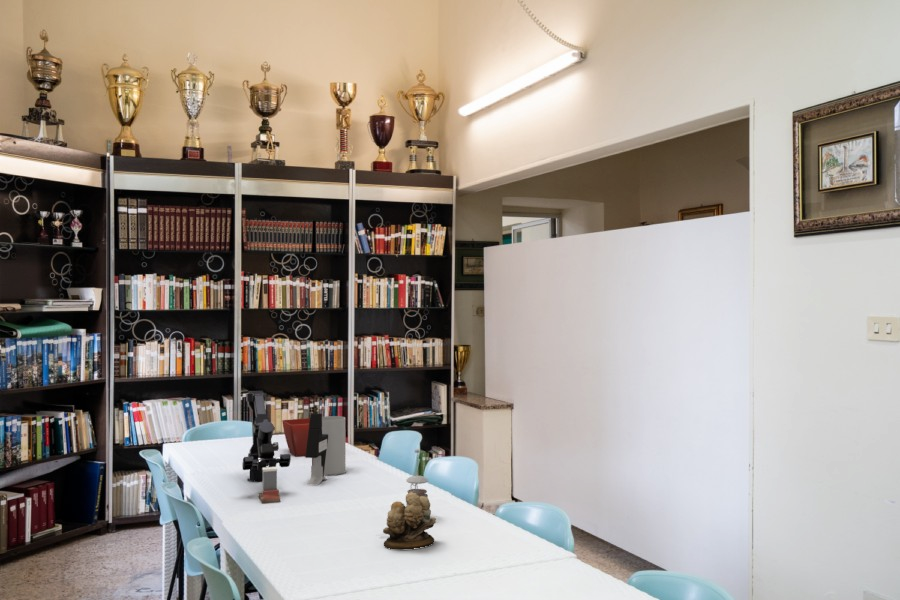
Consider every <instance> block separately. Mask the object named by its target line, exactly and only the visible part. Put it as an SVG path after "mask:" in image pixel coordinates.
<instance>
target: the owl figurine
mask: <svg viewBox="0 0 900 600" xmlns="http://www.w3.org/2000/svg"><path fill="white" fill-rule="evenodd" d="M405 503H406V504H407V505H405V504H404V503H403V502H401V501H398V500H397V501H393V503H392V504H391V505H390V510H389V511H388V512H387V518H386V526H387V527H384V528H383V529H382V533H384V534H385V535H389V537H387V538H386V539H385V540H384V542H383V546H385V547H384V548H386V547H387V548H386V549H388V548H390V549H389V550H391V549H412V550H415V549H414V548H419V549H421V548H420V547H424V548H426V547H425V546H428V547H430V546H432V545H434V543H435V538H434V537H433V536H432V535H431V534H429V533H428V532H427V531H426V530H428V529H429V530H430V529H432V528H433V527H434V525H435V524H436V522H437V521H436V518H435V517H431V514H432V510H431V509H430V508H431V502H430V500H429V497H428V498H427V497H424V496H421V497H419V496H418V495H417V494H416V493H412V492H410V493H408V492H407V493H406V495H405ZM431 544H432V545H431ZM429 545H430V546H429Z"/></svg>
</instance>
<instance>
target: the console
mask: <svg viewBox="0 0 900 600" xmlns="http://www.w3.org/2000/svg"><path fill="white" fill-rule="evenodd" d="M258 498H259V501H260V503H261V504H271V503H273V504H274V503H281V496H280V490H279V489H277V490H269V491H263V490H262V492H258Z"/></svg>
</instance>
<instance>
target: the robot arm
mask: <svg viewBox="0 0 900 600" xmlns="http://www.w3.org/2000/svg"><path fill="white" fill-rule="evenodd" d="M266 401H267V392H264V391H263V390H249V391H248V393H246V394H245V402H247V407H248V408H249V410H250V411H251V426H252V428H251V431H252V432H251V433H252V445H251V447H250V449H249V453H248V455H247V456H244V457H243V458H242V470H244V471H248V470H249V478H247V481H250V482H256V483H258V482H263V470H262V468H264V467H276V468H277V464H279V467H281V468H289V467H290V465H291V460H292V459H291V455H290V453H283V454H280V455H279V457H275V452H278V451H279V450H280V449H279V448H280V446H279V442H277V441H276V442H273V443H272V438H273V434H274V431H275V429H276V427H275V425H274V424H273V423H272V422H271V418H270V417H269V416H267V411H266V406H265V403H266Z"/></svg>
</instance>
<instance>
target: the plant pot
mask: <svg viewBox="0 0 900 600" xmlns="http://www.w3.org/2000/svg"><path fill="white" fill-rule="evenodd" d="M281 422H282V429H283V432H284V433H283V434H284V437H285V441H286V444H287V447H288V450H289V454H290V453H291V455H293V456H294V457H305V455H306V447H307V439H308V431H309V429H310V428H309V422H310V417H308V418H295V419H294V418H293V419H291V418H290V419H282V421H281Z"/></svg>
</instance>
